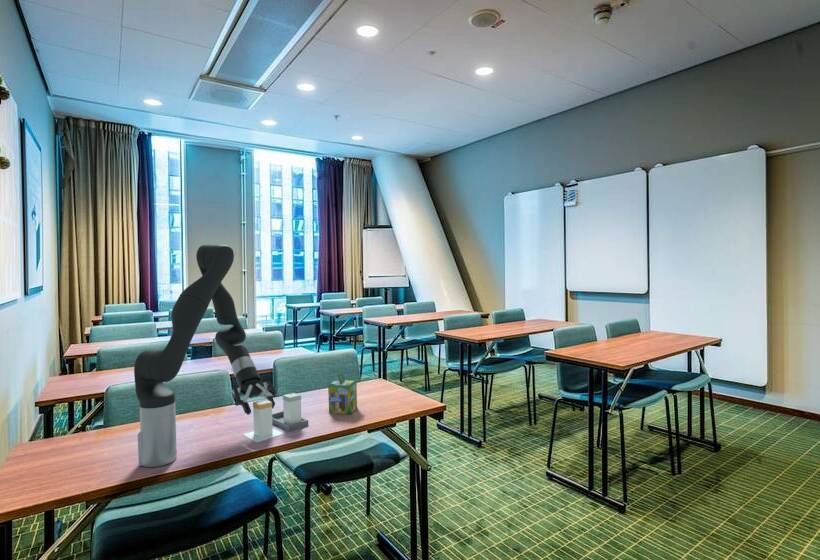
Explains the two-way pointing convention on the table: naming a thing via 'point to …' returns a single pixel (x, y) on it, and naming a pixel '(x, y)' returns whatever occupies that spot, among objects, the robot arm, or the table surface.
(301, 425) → the charcoal tray
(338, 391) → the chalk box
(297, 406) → the grey-band box
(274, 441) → the table surface
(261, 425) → the orange-band box
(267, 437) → the blue-grey pad
